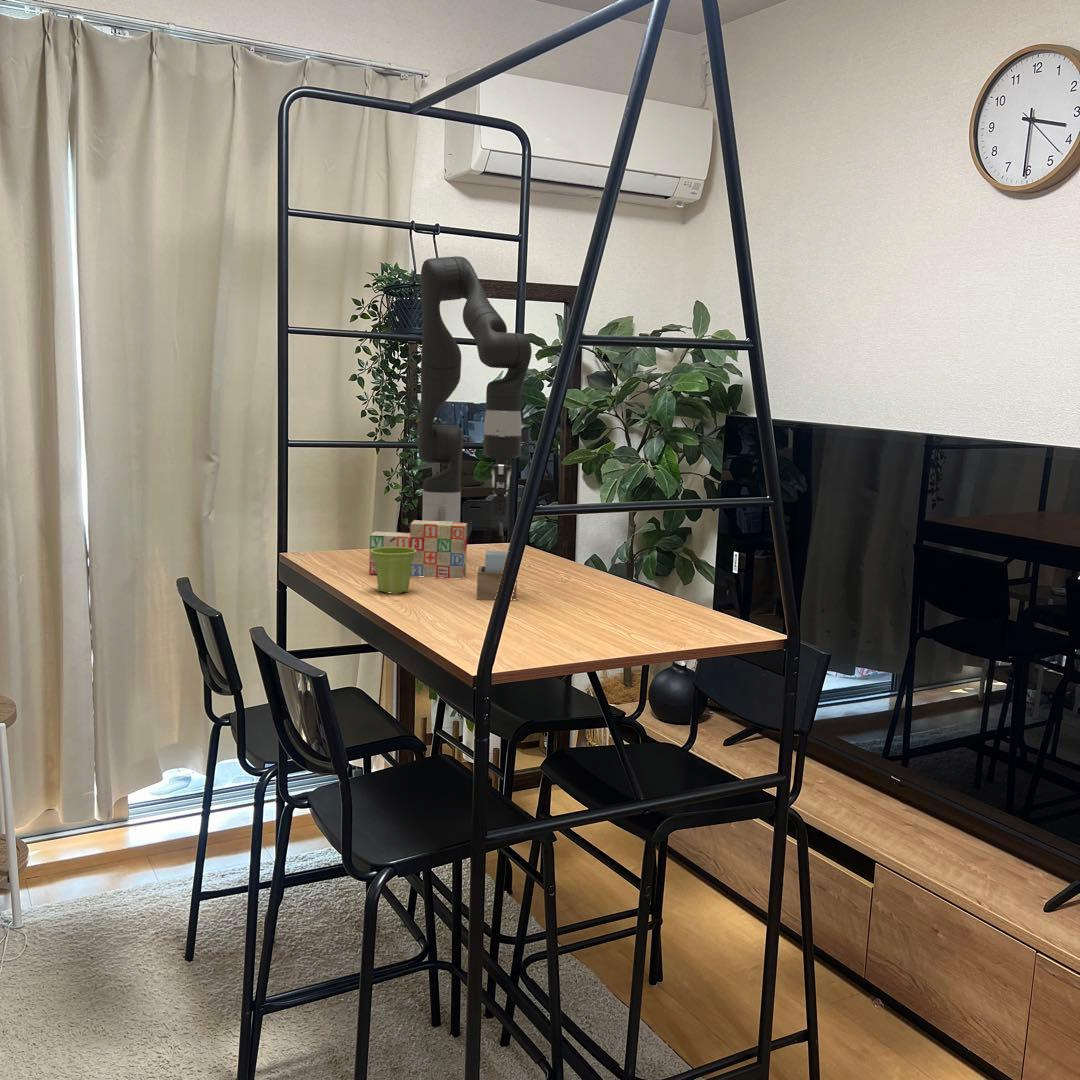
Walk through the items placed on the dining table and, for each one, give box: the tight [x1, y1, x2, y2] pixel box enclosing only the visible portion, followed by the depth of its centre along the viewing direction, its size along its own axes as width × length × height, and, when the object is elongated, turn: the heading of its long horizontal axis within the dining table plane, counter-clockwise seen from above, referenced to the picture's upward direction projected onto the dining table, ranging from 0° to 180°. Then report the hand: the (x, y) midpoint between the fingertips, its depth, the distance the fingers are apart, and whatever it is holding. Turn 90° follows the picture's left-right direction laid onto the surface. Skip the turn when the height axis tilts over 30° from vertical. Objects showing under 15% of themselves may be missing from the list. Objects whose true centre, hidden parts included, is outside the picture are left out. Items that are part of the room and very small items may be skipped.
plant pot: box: [371, 547, 416, 594], centre depth 217 cm, size 9×9×9 cm
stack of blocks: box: [368, 519, 468, 579], centre depth 237 cm, size 21×6×12 cm, turn 88°
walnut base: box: [476, 565, 518, 601], centre depth 216 cm, size 8×8×6 cm
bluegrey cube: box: [484, 550, 509, 573], centre depth 216 cm, size 5×5×5 cm
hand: (500, 512), depth 214 cm, fingers open, 8 cm apart
